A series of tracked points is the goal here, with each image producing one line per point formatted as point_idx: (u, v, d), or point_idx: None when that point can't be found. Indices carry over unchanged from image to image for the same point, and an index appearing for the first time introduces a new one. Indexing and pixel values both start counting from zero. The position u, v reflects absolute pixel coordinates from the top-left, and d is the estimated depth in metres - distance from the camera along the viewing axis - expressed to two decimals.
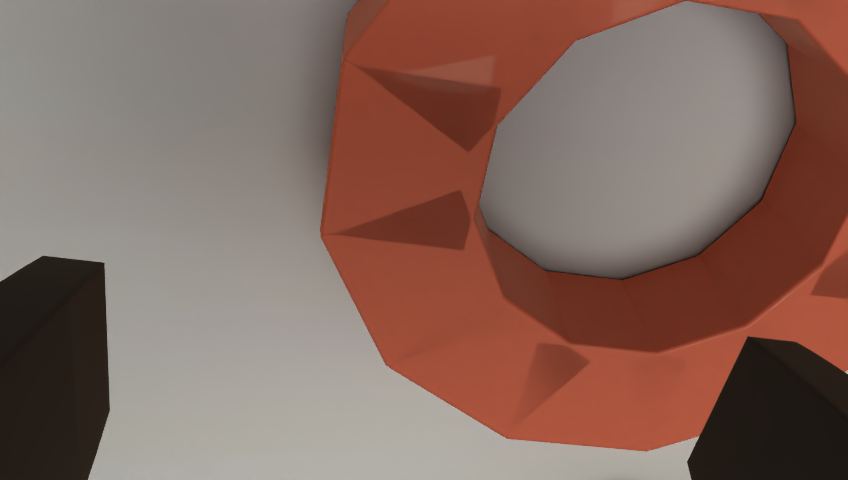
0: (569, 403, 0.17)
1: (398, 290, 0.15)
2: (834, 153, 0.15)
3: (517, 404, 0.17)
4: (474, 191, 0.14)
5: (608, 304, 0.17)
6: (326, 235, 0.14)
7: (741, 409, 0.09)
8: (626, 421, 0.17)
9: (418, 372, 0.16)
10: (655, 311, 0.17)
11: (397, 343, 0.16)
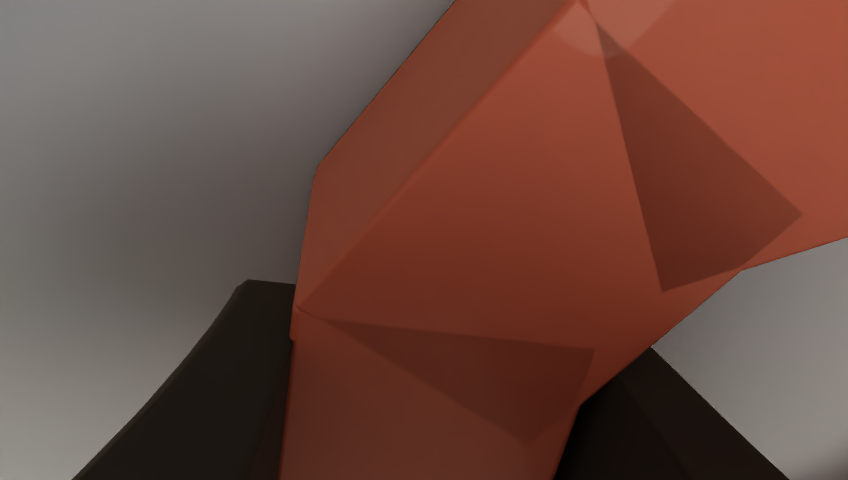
0: None
1: None
2: None
3: None
4: None
5: None
6: None
7: None
8: None
9: None
10: None
11: None
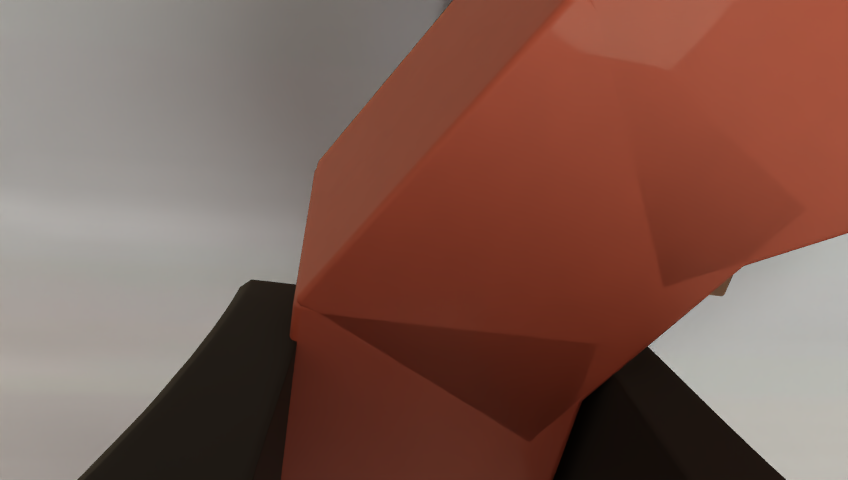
0: None
1: None
2: None
3: None
4: None
5: None
6: None
7: None
8: None
9: None
10: None
11: None
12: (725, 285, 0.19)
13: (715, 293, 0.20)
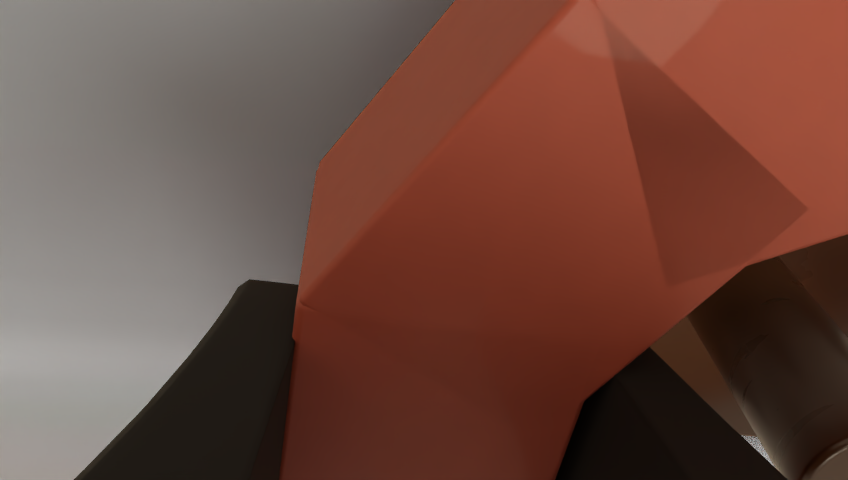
0: None
1: None
2: None
3: None
4: None
5: None
6: None
7: None
8: None
9: None
10: None
11: None
12: None
13: None
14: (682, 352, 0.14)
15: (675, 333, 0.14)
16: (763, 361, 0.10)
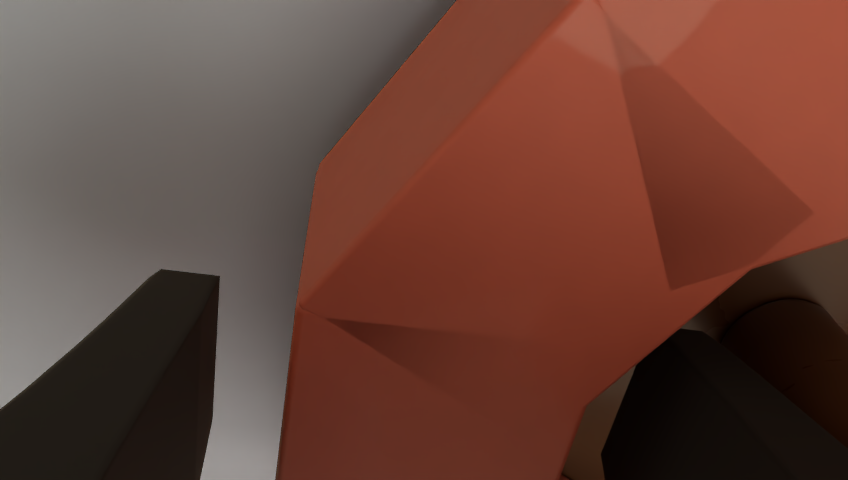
0: None
1: None
2: None
3: None
4: None
5: None
6: None
7: (645, 399, 0.09)
8: None
9: None
10: None
11: None
12: None
13: None
14: None
15: None
16: None
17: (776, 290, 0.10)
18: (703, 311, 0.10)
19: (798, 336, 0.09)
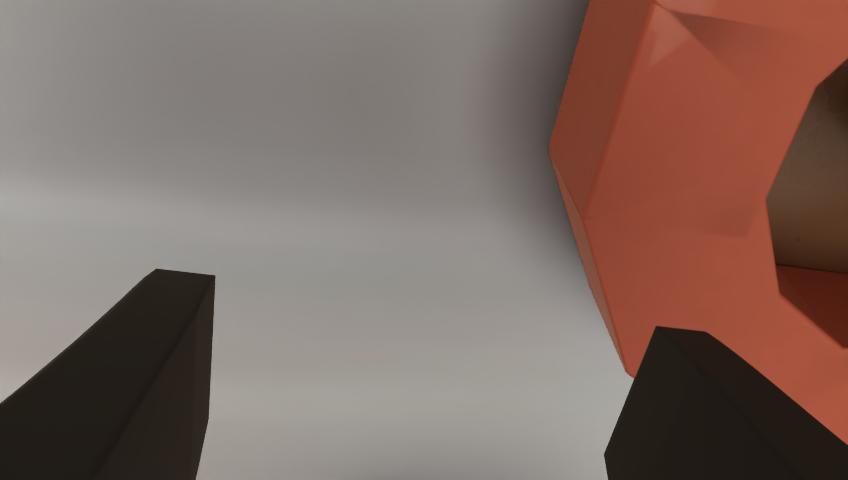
0: (826, 417, 0.14)
1: (659, 285, 0.13)
2: None
3: None
4: (774, 166, 0.12)
5: None
6: (590, 219, 0.12)
7: (649, 400, 0.09)
8: None
9: None
10: None
11: (646, 347, 0.13)
12: None
13: None
14: None
15: None
16: None
17: None
18: None
19: None
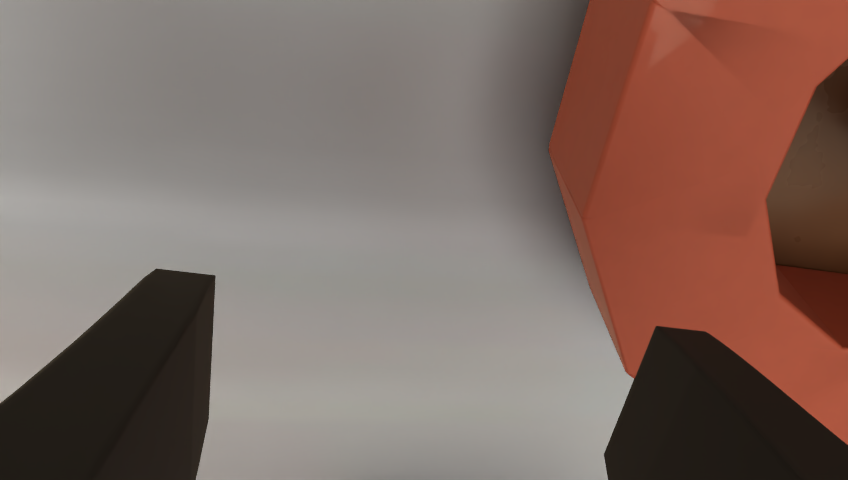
0: (826, 417, 0.14)
1: (659, 285, 0.13)
2: None
3: None
4: (774, 166, 0.12)
5: None
6: (590, 219, 0.12)
7: (649, 400, 0.09)
8: None
9: None
10: None
11: (646, 347, 0.13)
12: None
13: None
14: None
15: None
16: None
17: None
18: None
19: None
